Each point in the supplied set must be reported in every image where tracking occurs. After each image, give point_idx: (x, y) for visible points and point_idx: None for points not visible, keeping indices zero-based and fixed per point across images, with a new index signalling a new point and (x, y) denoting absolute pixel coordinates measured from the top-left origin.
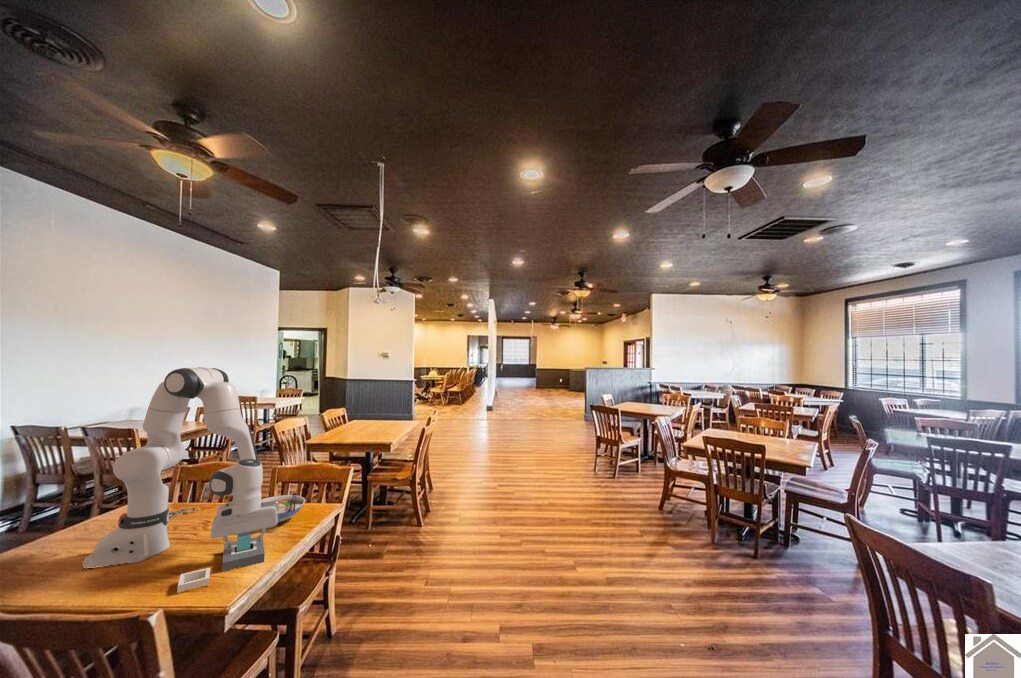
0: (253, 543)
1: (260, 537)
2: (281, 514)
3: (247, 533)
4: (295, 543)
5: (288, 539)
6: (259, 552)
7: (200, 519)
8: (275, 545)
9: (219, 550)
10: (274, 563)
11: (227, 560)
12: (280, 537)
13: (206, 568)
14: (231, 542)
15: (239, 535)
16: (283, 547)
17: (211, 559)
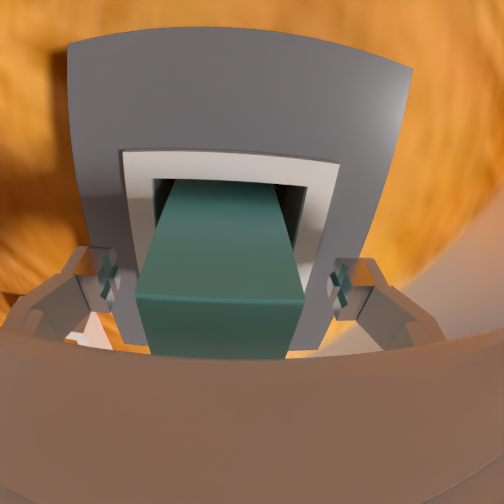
0: (307, 206)
1: (354, 314)
2: None
3: (254, 336)
4: (480, 209)
5: (489, 133)
6: (301, 334)
7: None
8: (426, 159)
9: (80, 4)
10: (334, 336)
11: (140, 336)
12: (477, 64)
13: (71, 332)
14: (122, 37)
15: (165, 340)
16: (436, 216)
17: (46, 134)
